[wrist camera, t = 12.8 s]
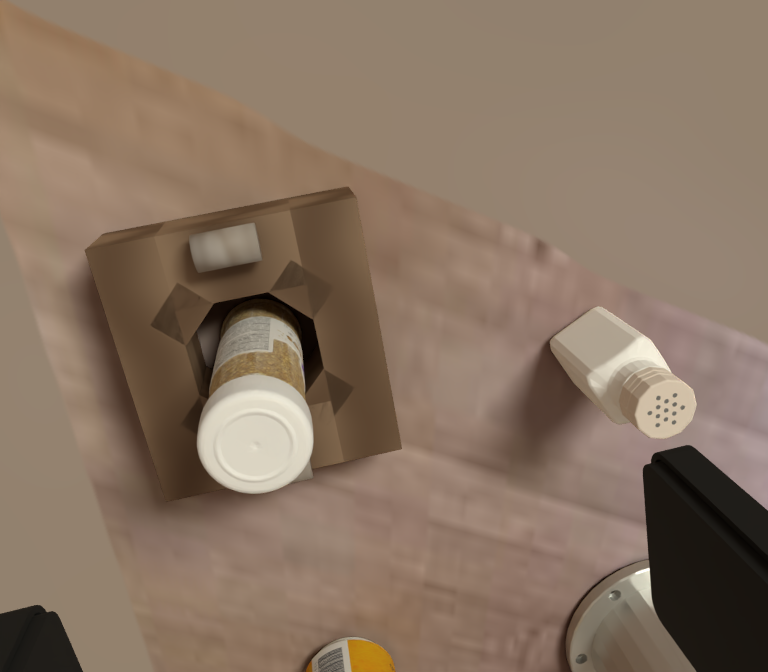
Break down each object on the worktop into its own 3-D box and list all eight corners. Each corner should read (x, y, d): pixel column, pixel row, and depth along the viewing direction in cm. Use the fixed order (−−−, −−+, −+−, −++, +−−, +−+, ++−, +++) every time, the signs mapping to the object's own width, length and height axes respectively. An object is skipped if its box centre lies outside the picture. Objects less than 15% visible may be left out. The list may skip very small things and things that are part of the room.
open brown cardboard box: (348, 186, 38) (360, 203, 33) (390, 417, 43) (407, 465, 38) (103, 233, 37) (74, 258, 32) (175, 464, 42) (161, 521, 37)
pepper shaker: (542, 339, 43) (612, 405, 34) (597, 299, 43) (682, 355, 34) (575, 386, 44) (650, 462, 36) (628, 348, 44) (718, 414, 35)
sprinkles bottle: (309, 361, 41) (325, 482, 29) (231, 380, 41) (213, 510, 28) (290, 286, 40) (299, 380, 27) (209, 305, 39) (180, 409, 27)
